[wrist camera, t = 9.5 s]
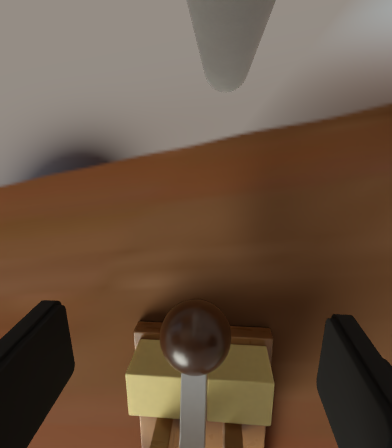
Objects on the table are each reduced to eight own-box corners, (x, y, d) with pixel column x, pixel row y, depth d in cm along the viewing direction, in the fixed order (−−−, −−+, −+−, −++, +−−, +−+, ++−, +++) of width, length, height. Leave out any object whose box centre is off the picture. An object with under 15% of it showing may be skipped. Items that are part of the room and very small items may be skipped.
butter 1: (139, 338, 19) (125, 373, 16) (194, 341, 19) (189, 378, 16) (142, 375, 20) (128, 415, 17) (194, 379, 19) (189, 420, 16)
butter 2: (209, 342, 18) (207, 379, 16) (266, 345, 18) (275, 383, 15) (209, 380, 19) (207, 421, 16) (263, 384, 19) (271, 427, 16)
